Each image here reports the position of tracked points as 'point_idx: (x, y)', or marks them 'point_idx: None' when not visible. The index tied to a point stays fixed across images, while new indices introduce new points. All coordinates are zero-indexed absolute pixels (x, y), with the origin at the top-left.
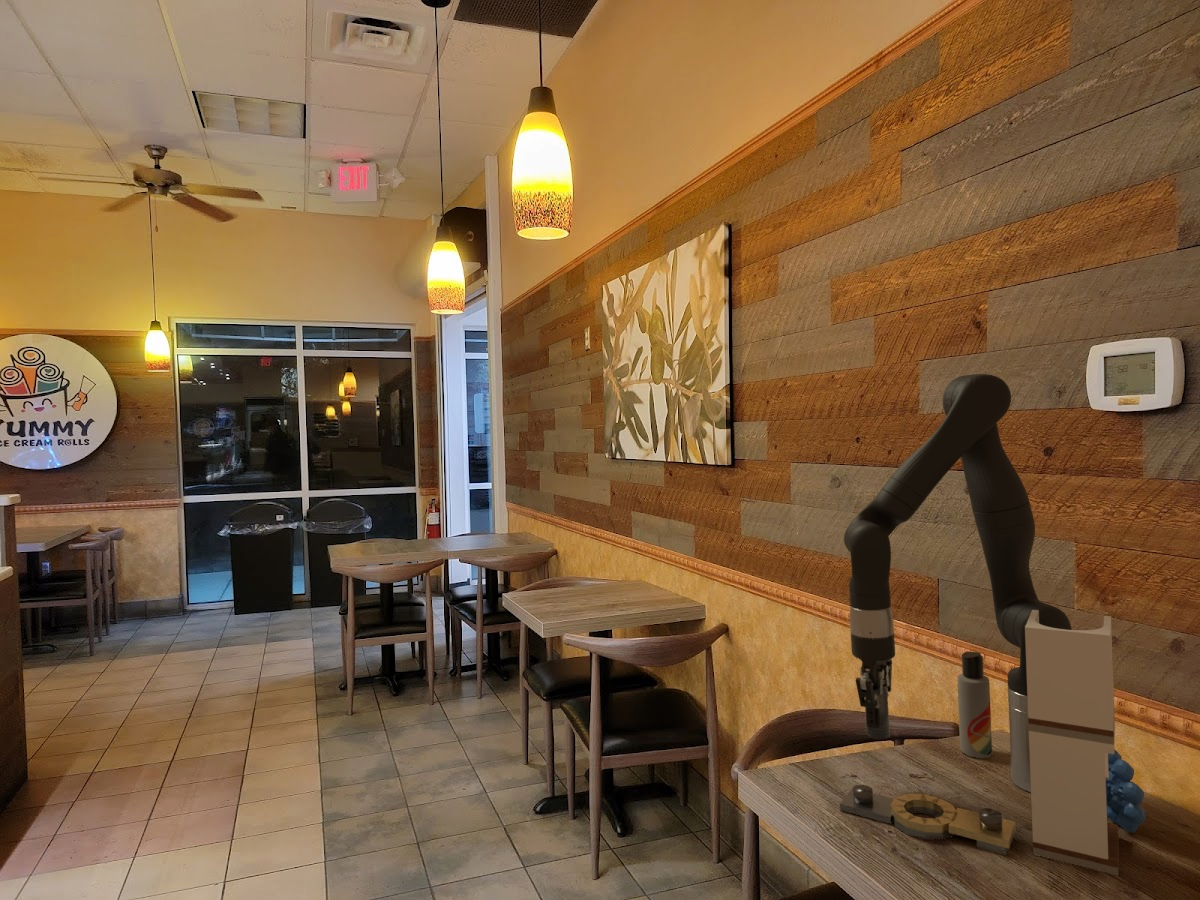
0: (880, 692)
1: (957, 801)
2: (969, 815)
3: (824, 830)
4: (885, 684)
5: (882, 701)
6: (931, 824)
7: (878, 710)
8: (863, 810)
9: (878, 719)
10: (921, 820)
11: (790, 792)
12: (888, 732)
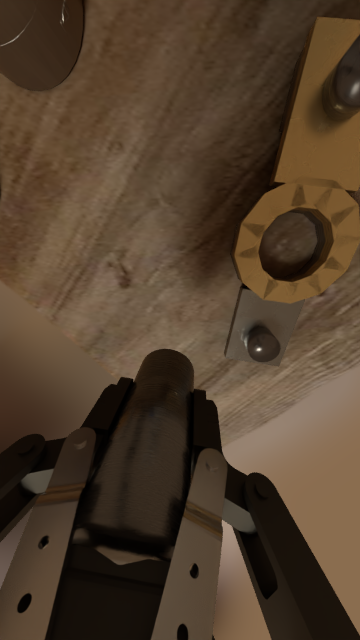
0: (219, 545)
1: (186, 199)
2: (306, 149)
3: (334, 370)
4: (73, 526)
5: (176, 458)
6: (358, 225)
7: (205, 438)
8: (290, 336)
9: (206, 410)
10: (344, 245)
11: (241, 414)
12: (173, 357)
